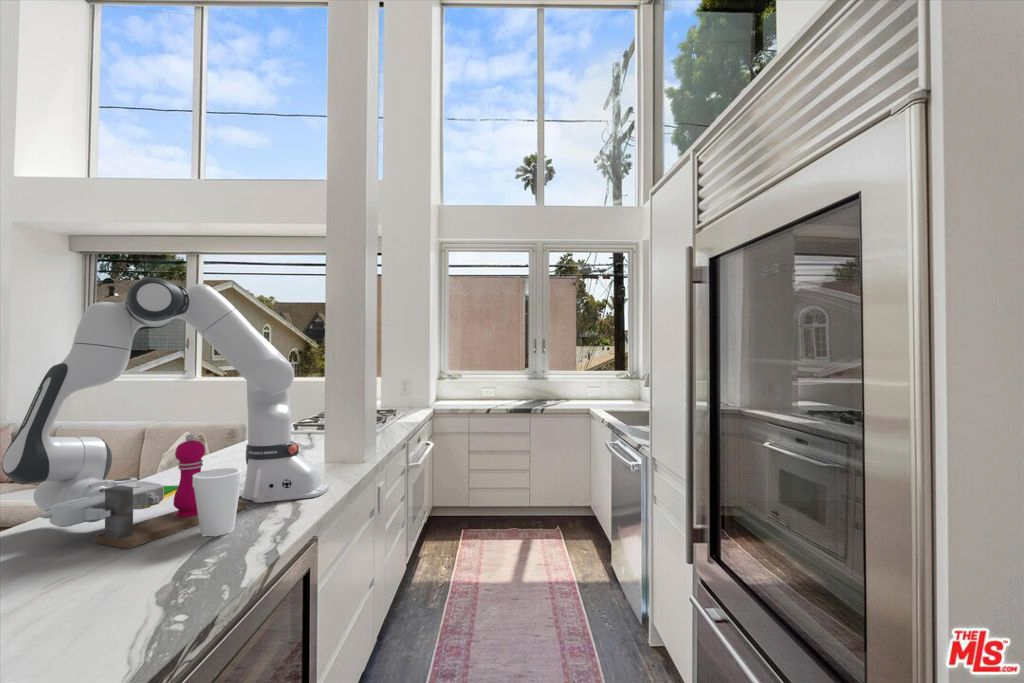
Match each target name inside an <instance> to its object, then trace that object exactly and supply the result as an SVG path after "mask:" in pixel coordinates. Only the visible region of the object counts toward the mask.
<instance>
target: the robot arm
mask: <svg viewBox="0 0 1024 683" xmlns="http://www.w3.org/2000/svg"><path fill="white" fill-rule="evenodd" d="M175 319H178V320H181V321H184V322H186V323H187V324H189V325H191V327H193V328H194V330H195V331H196V332H197V333H198V334H200V336H201V337H202V338H203V339H204V340H205V341H206V342H207V343H208V344H209V345H211V347H212V348H213V349H214V350H215V351H216V352H217V353H218V354H219V355H220V356H221V357H222V358H223V359H224V360H225V361H227V363H228V364H230V366H232V368H233V369H235V370H236V372H238V374H239V375H240V376H241V377H242V378H243V379H245V380H246V399H247V402H246V404H247V444H246V445H245V446H246V449H245V461H246V462H245V463H246V465H247V466H246V475H245V480H244V481H245V482H244V486H243V488H242V493H241V498H242V499H244V500H248V501H253V503H257V504H260V503H270V502H280V501H288V500H289V501H290V500H298V499H308V498H316V497H318V496H321V495H323V494H325V493H326V492H327V491H328V490H329V489H330V488H329V487H330V486H329V483H328V481H321V480H322V479H321V473H320V470H319V467H318V466H317V465H316V464H315V463H312V461H309V460H308V459H306V458H305V457H303V456H302V455H301V454H299V452H300V451H299V450H300V443H299V442H298V443H296V442H295V441H293V440H292V411H291V402H290V401H291V399H290V390H289V389H290V387H291V385H292V383H293V382H294V378H295V370H294V367H293V365H292V364H291V362H290V361H289V360H288V359H287V358H286V357H285V356H284V355H283V354H282V353H281V352H280V351H279V350H278V349H277V348H276V347H275V346H274V345H273V344H272V343H271V342H270V341H268V339H267V338H266V337H264V335H262V334H261V333H260V332H259V330H257V329H256V328H255V327H254V326H253V325H252V324H251V322H250V321H249V320H248V319H247V318H245V316H244V315H243V314H242V312H240V311H239V310H238V309H237V308H236V307H235V306H234V305H233V304H232V303H231V302H230V301H229V300H228V299H227V298H226V297H225V296H224V295H222V294H221V293H220V292H218V291H217V289H216V290H215V288H213V287H211V285H209V284H204V283H196V284H193V285H190V286H188V287H187V288H185V287H184V286H182V285H178V284H176V283H173V282H170V281H168V280H165V279H162V278H157V277H147V278H143V279H139V280H138V281H136V282H134V284H132V285H131V286H130V287H129V289H128V291H127V294H126V299H125V300H123V301H121V302H112V301H98V302H95V303H91V304H89V306H87V308H86V309H85V311H84V313H83V314H82V316H81V318H80V319H79V320H80V321H79V323H78V326H77V328H76V330H75V334H74V338H73V342H72V345H71V349H70V351H69V353H68V355H67V356H66V357H65V358H64V359H63V361H62V362H60V363H57V364H54V365H53V366H51V367H50V368H49V369H48V371H47V372H46V373H45V375H44V377H43V379H42V380H41V382H40V383H39V386H38V388H37V390H36V392H35V395H34V397H33V399H32V401H31V404H30V406H29V408H28V410H27V412H26V414H25V416H24V419H23V421H22V423H21V425H20V427H19V428H18V431H17V433H16V435H15V436H14V438H13V440H12V441H11V443H10V444H9V446H8V447H7V448H6V451H5V453H4V454H3V458H2V462H1V470H2V472H3V474H5V476H6V477H7V478H8V479H10V480H11V481H12V482H14V483H16V484H18V485H22V486H23V485H29V484H37V483H39V484H38V486H36V489H35V490H34V493H33V501H34V503H35V505H36V506H37V508H38V509H39V510H41V511H42V512H40V513H39V518H42V519H45V520H46V519H49V524H51V525H53V526H56V527H58V528H68V527H69V528H70V527H72V526H76V525H80V524H83V523H96V522H99V521H102V520H105V519H106V518H110V517H111V509H108V508H105V489H107V488H112V487H116V486H120V485H122V486H129V487H133V510H134V509H138V508H143V507H142V506H146V505H151V506H152V507H154V506H157V505H160V503H161V502H160V501H162V500H163V498H164V487H163V486H164V485H162V484H160V483H158V482H157V483H156V482H151V481H145V480H143V481H139V480H138V478H136V477H129V478H128V477H127V478H121V479H120V478H118V479H106V478H107V477H108V475H109V472H110V470H111V467H112V462H113V454H112V451H111V448H110V447H109V445H108V443H107V442H106V441H105V440H104V439H103V438H101V437H99V436H50V432H51V431H52V428H53V426H54V424H55V421H56V419H57V417H58V415H59V413H60V410H61V408H62V406H63V403H64V402H65V400H67V398H68V397H69V396H71V395H72V394H74V393H75V392H78V391H81V390H85V389H89V388H92V387H96V386H102V385H105V384H107V383H110V382H113V381H115V380H116V379H117V378H119V377H121V376H122V374H124V373H125V371H126V369H127V367H128V365H129V361H130V358H131V354H132V346H133V343H134V342H133V341H134V339H135V335H136V333H137V331H141V330H148V329H149V330H152V329H159V328H163V327H165V326H167V325H169V324H170V323H172V322H173V321H174V320H175ZM162 502H163V501H162ZM153 505H154V506H153Z"/></svg>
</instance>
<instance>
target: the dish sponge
mask: <svg viewBox="0 0 1024 683" xmlns="http://www.w3.org/2000/svg"><path fill="white" fill-rule="evenodd" d="M178 486H179V485H163V487H164V498H163V499H165V498H167V497H169V496H171V495H173V494H175V493H176V491H177V488H178ZM146 506H151V505H146Z"/></svg>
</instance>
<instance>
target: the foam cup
mask: <svg viewBox="0 0 1024 683" xmlns="http://www.w3.org/2000/svg"><path fill="white" fill-rule="evenodd" d="M242 481H243V471H242V469H241V468H237V467H222V468H213V469H208V470H201V472H199V473H196V474H194V475H193V488H194V492H195V498H196V505H197V512H198V518H199V524H198V525H199V530H200V535H201V534H202V535H205V536H214V537H219V536H220V535H221V536H224V535H228V534H230V533H232V532H233V531H234V530H235V526H236V525H235V524H236V518H237V512H238V511H237V505H238V502H239V497H240V490H241V482H242ZM227 533H228V534H227ZM202 535H201V536H202ZM205 536H204V537H205ZM221 536H220V537H221Z"/></svg>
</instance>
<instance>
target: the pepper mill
mask: <svg viewBox="0 0 1024 683" xmlns="http://www.w3.org/2000/svg"><path fill="white" fill-rule="evenodd" d="M174 452H175V455H174V456H175V458H176V459H177V461H179V462H178V463H177V465H178V469H179V472H180V481H179V484H178V485H177V486H178V488H177V491H176V493H175V495H174V496H173V506H174V507H175V508H176V510H177V511H178V510H179V511H178V512H177V513H176V516H178V517H190V516H196V515H198V512H197V505H196V498H195V492H194V488H193V475H194V474H196V473H199V472H202V467H203V466H204V464H203V461H204V460H203V459H202V458H203V457H204V456H205V454H206V448H205V445H204V444H203V443H202V442H201V441H198V440H195V436H194V434H191V433H190V434H187V435H186V436H185V441H183V442H181V443H180V444H178V446H177V447H176V448H175V451H174Z"/></svg>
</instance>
